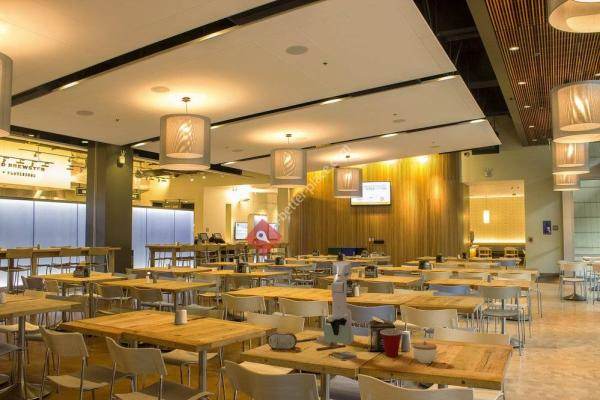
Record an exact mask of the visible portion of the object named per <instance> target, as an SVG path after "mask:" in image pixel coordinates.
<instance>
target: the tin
mask: <svg viewBox="0 0 600 400" xmlns="http://www.w3.org/2000/svg"><path fill="white" fill-rule="evenodd" d="M297 340H298V337H297V336H296V335H295V334H294V333H293V332H290V331H285V332H284V331H273V332H271V333H270V334H269V336H268V337H267V345H268V346H269V347H270V348H272V349H274V350H293V349H294V348H295V347H296V345H297V343H298V342H297Z"/></svg>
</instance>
